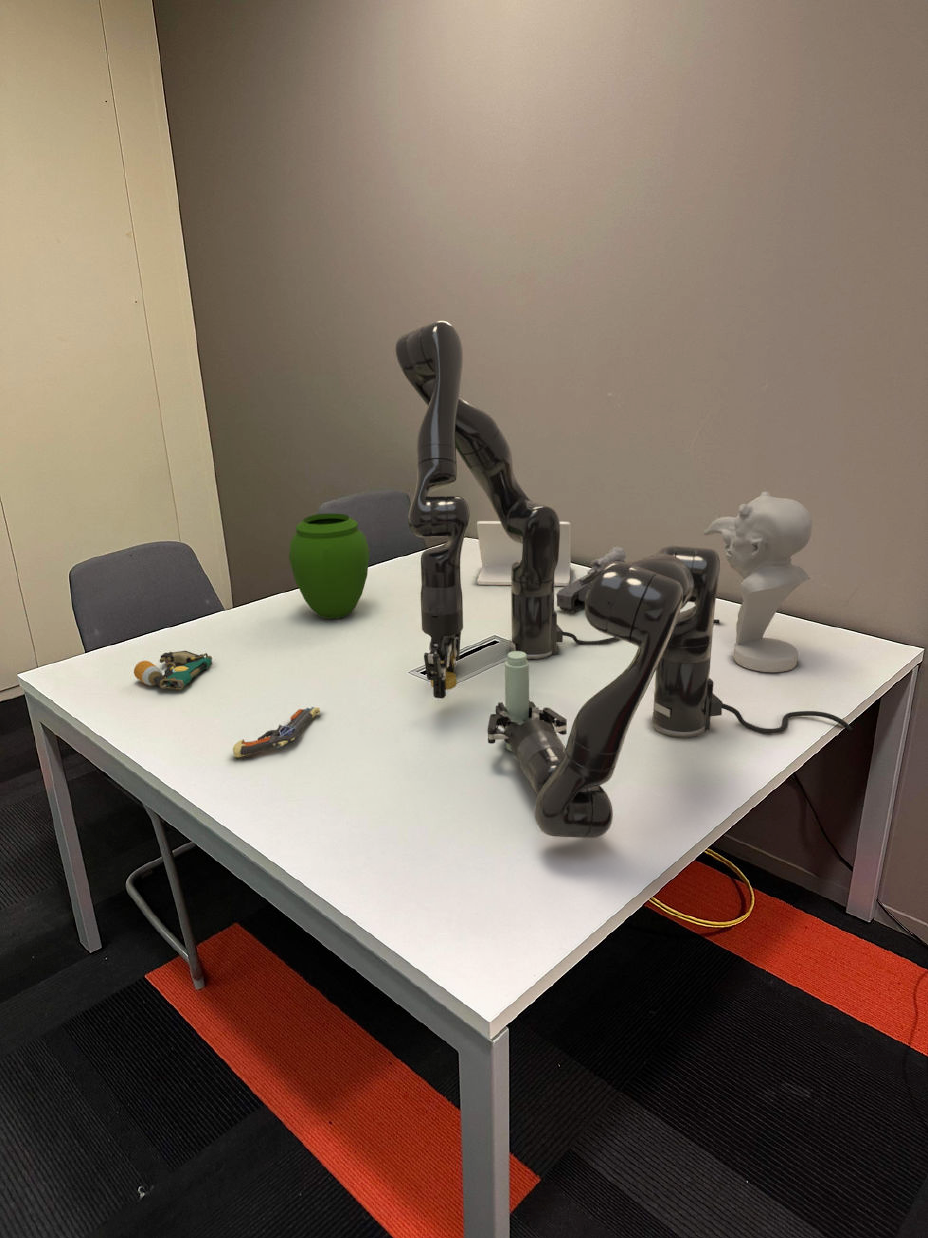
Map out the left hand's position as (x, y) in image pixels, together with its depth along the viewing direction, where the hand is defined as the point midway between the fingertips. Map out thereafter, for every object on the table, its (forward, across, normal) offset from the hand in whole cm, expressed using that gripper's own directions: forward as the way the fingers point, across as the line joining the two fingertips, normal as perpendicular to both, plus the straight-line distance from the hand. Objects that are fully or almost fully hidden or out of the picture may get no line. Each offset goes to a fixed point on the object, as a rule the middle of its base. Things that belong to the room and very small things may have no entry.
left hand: (444, 691), depth 160 cm
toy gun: (+5, +17, -26) cm, 31 cm away
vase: (+5, -44, -45) cm, 63 cm away
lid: (-3, 0, 0) cm, 3 cm away
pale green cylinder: (+5, +9, +16) cm, 19 cm away
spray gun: (+5, -1, -61) cm, 61 cm away
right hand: (-2, +6, +15) cm, 17 cm away
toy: (+4, -67, +22) cm, 71 cm away
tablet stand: (+4, -86, -6) cm, 86 cm away
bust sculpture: (+4, -41, +54) cm, 68 cm away
